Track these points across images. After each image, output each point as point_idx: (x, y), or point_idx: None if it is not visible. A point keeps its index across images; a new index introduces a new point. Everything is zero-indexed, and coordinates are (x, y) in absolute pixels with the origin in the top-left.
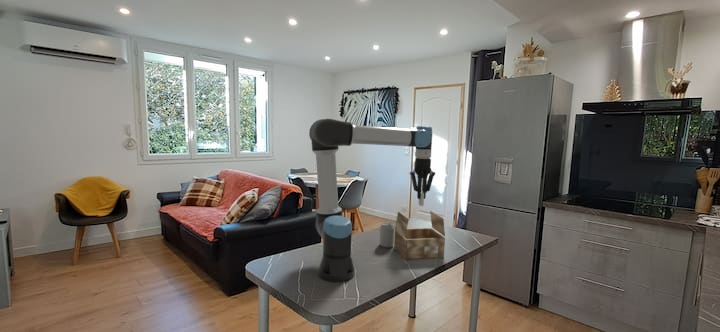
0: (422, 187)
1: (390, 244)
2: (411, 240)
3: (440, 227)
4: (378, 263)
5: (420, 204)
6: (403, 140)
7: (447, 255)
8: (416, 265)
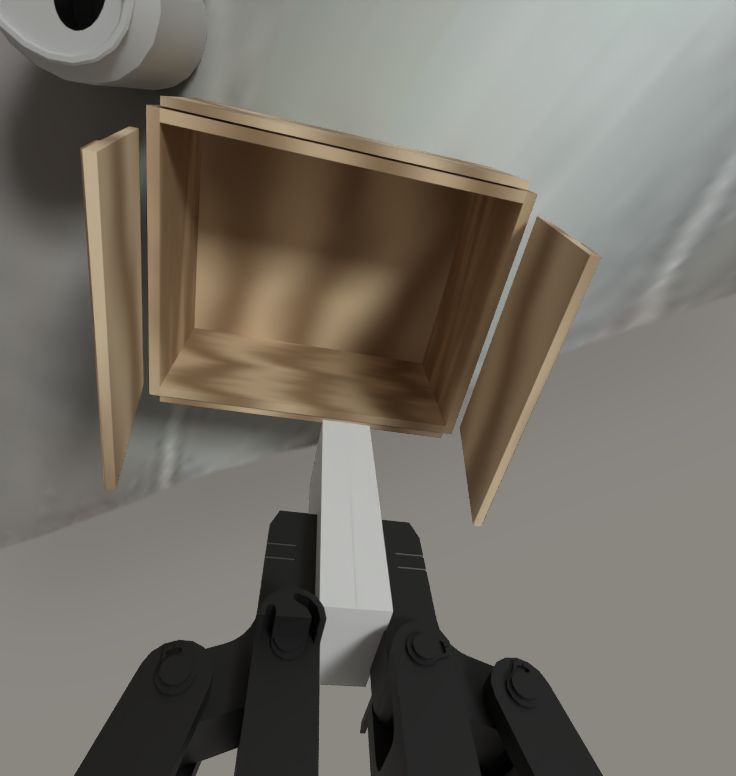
0: (397, 761)
1: (154, 89)
2: (194, 403)
3: (481, 411)
4: (7, 325)
5: (310, 492)
6: None
7: None
8: None
